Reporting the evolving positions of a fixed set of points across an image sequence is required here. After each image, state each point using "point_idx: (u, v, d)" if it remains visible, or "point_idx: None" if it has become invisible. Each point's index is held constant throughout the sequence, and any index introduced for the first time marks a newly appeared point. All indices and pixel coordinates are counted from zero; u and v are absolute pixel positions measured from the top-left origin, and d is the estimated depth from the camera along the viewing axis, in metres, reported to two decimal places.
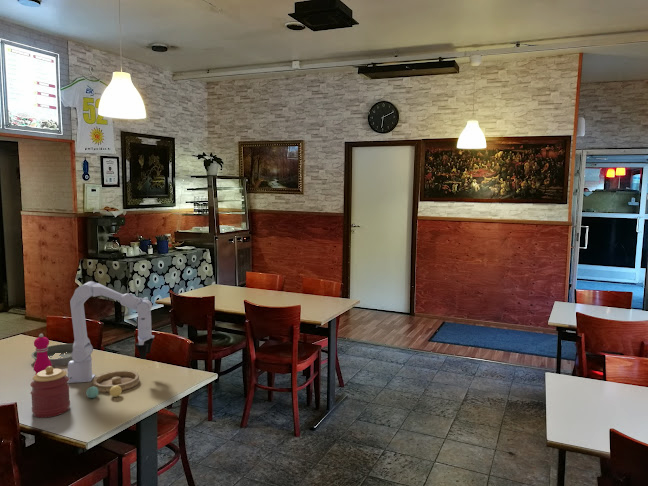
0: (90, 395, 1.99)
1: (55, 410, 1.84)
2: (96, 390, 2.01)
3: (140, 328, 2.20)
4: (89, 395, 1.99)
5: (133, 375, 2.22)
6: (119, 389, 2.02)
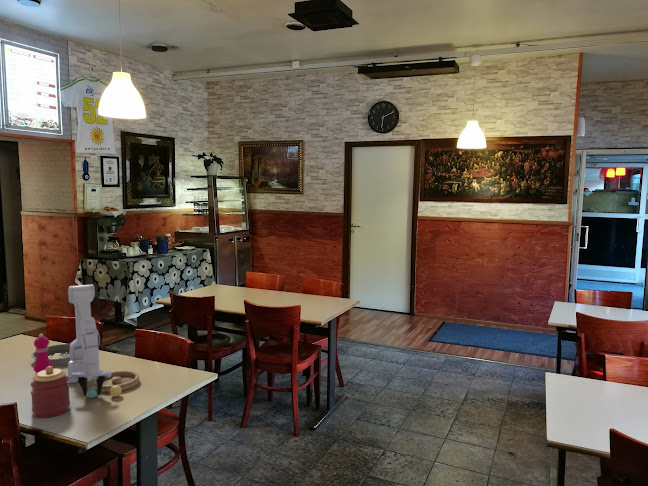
0: (90, 395, 1.99)
1: (55, 410, 1.84)
2: (96, 390, 2.01)
3: None
4: (89, 395, 1.99)
5: (133, 375, 2.22)
6: (119, 389, 2.02)
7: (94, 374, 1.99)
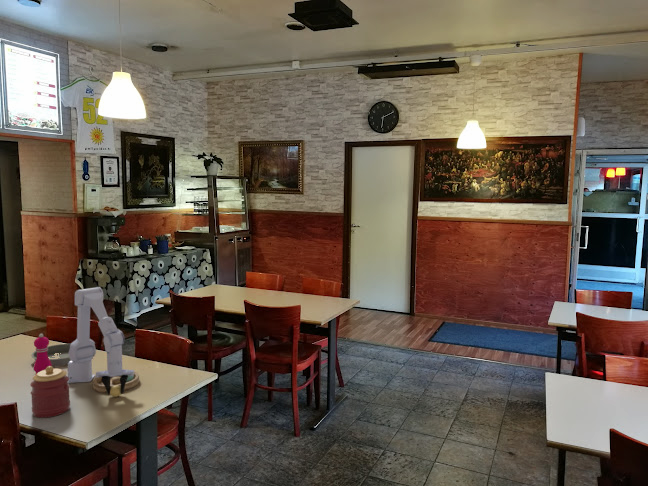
0: None
1: (55, 410, 1.84)
2: None
3: None
4: None
5: (133, 375, 2.22)
6: (119, 389, 2.02)
7: (117, 373, 2.00)
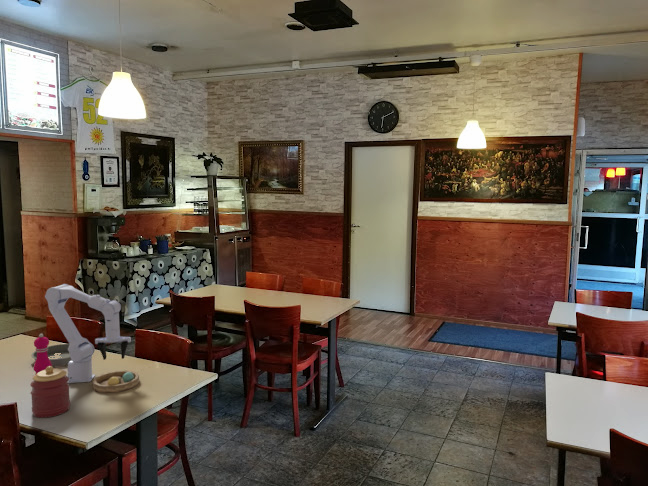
0: (126, 380, 2.14)
1: (55, 410, 1.84)
2: (131, 376, 2.16)
3: None
4: (125, 380, 2.14)
5: None
6: (117, 380, 2.10)
7: (115, 339, 2.16)
